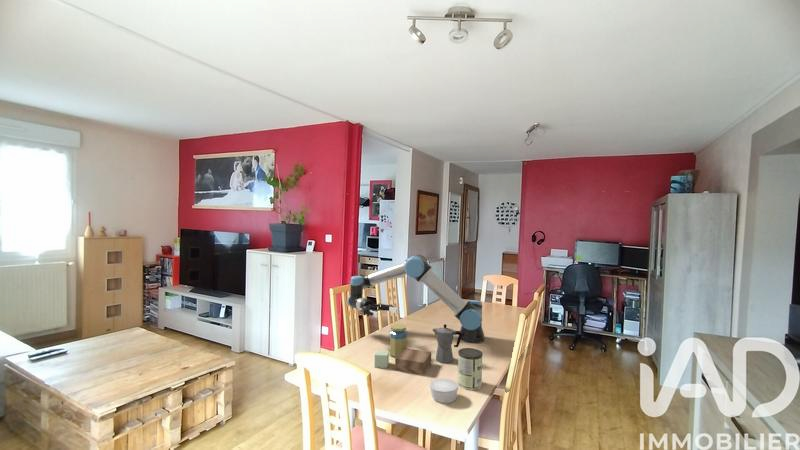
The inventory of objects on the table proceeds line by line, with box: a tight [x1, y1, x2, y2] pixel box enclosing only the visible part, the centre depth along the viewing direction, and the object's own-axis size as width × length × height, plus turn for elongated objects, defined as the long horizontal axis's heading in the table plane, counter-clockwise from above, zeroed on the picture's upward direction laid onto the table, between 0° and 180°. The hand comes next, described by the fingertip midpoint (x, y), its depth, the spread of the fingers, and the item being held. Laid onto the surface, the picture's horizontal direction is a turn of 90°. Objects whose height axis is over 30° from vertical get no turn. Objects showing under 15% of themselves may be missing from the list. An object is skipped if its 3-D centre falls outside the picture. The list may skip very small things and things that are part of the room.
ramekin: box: [429, 378, 459, 404], centre depth 138 cm, size 11×11×5 cm
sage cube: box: [374, 349, 390, 369], centre depth 168 cm, size 6×6×6 cm
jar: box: [389, 323, 408, 358], centre depth 181 cm, size 9×9×15 cm
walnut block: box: [394, 347, 432, 376], centre depth 167 cm, size 14×14×6 cm
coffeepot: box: [432, 323, 462, 364], centre depth 175 cm, size 15×9×18 cm, turn 68°
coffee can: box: [457, 347, 483, 391], centre depth 149 cm, size 10×10×14 cm
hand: (387, 313), depth 188 cm, fingers open, 13 cm apart
